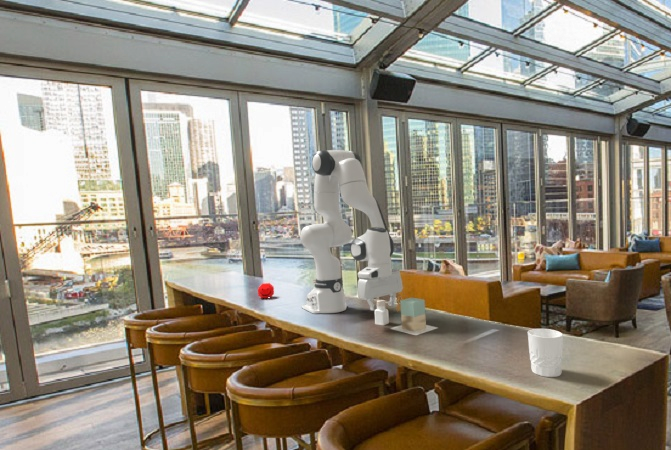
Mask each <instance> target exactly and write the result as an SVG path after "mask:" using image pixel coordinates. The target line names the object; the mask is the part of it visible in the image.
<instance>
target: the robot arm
mask: <svg viewBox="0 0 671 450" xmlns="http://www.w3.org/2000/svg"><path fill="white" fill-rule="evenodd" d="M311 166H312V170H313V171H314V173H315V177H314V183H313V184H314V185H313V202H314V203H313V205H314V206H313V208H314V210H315V212H316V213H317V214H319V215H321V217H322V219H323V222H322V223H313V224H310V225H306V226H304V227H303V228H302V229H301V231H300V235H299V238H300V239H299V240H300V243H301V244H302V246H303V247H304V248H306V250H308V251H309V252H310V254H311V256H312V257H313V260H314V265H315V273H316V275H315V276H316V278H315V279H313V283H314V287H313V288H312V289H311V291H310V292H308V293H307V294H306V303H304V304H303V305H302V304H301V309H303V310H305V311H308V312H309V313H312V314H335V313H340V312H343V311H346V310H347V307H348V303H346V298H345V297H346V296H345V291H344V290H345V289H344V288H343V277H342V268H341V261H340V259H339V258H338V257H336V256H335V255H333V254H332V251H331V248H335V247H342V246H345V245H348V244H349V243H350V242H351V243H350V245H349V246H350V247H349V248H350V249H349V250H350V254H351V256H352V258H353V259H354V260H355V261H356V262H367V266H366V267H365V268H363V269H361V270H360V271H358V272H357V278H358V280H357V295H358V298H359V299H360V300H363V301H364V300H365V301H366V302H367V304H368V306H369V310H370V311H375V310H376V309H377V304H374V299H375V298H381V297H384V296H390V297H389V300H388V302H387V303H388V304H387V305H388V306H389V307H390V306H392V307H393V306H395V300H396V293H398V292H399V293H402V291H403V289H404V286H403V280H402V277H401V271H400V270H399V269H398V268H396V267H395V268H393V267H392V259H391V258H392V256H393V254H394V252H395V243H394V240H393V238H392V236H391V234H390V232H389V230H388V226H387V224H386V221H385V218H384V215H383V212H382V209H381V207H380V204H379V202H378V200H377V199H376V198H375V196H373V195H372V193H371V192H370V189H369V186H368V184H367V179H366V175H365V172H364V169H363V166H362V158H361V156H360V155H359V153H357V152H355V151H352V150H343V149H329V150H327V149H321V150H318V151H316V152H315V153H314V154H313V156H312V159H311ZM340 197H341V200H342V201H343V202H344V203H345V204H346V205H347V206H349V207H351V208H352V209H356V210H357V211H360V212H362V213H364V214H365V215H366V216H367V217H368V219H369V221H370V224H371V227H369V228H367V229H366V231H365V232H364V233H363V234H362V235H360V236H358V237H355V238H354V239H353V240H352V238H353V232H352V228H351V227H350V225H349V224H348V223H346V221H345V220H344V219H343V216H342V213H341V210H340Z"/></svg>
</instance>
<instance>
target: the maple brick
mask: <svg viewBox="0 0 671 450" xmlns="http://www.w3.org/2000/svg"><path fill="white" fill-rule="evenodd" d="M400 317H401V325H402V329H406V330H410V331H414V332H415V331H418V330H421V329H424V328H426V325H427V318H426V313H425V314H423V315H420V316H416V317H411V316H406V315H402V314H401V313H400Z"/></svg>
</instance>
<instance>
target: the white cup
mask: <svg viewBox="0 0 671 450" xmlns="http://www.w3.org/2000/svg"><path fill="white" fill-rule="evenodd" d="M527 339H528V352H529V361H530V368H531V371H532V373H534V374H535V375H538V376H541V377H547V378H556V377H560V376H561V375H562V373H563V372H562V371H563V368H562V367H563V365H562V364H563V344H564V343H563V341H564V336H563V332H560V331H558V330H555V329H549V328H532V329H531V328H530V329H529V330H528V331H527Z"/></svg>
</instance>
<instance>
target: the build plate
mask: <svg viewBox="0 0 671 450" xmlns="http://www.w3.org/2000/svg"><path fill="white" fill-rule="evenodd" d="M389 329H390V330H393V331H396V332H397V331H398V332H402V333H406V334H409V335H413V336H418V335H422V334H424V333H428V332H430V331H434V330H436V329H438V327H437V326H432V325H428V324H426V328H424V329H421V330H418V331H415V332H414V331H410V330H406V329H402V324H400V325H397V326H393V327H390V328H389Z"/></svg>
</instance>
